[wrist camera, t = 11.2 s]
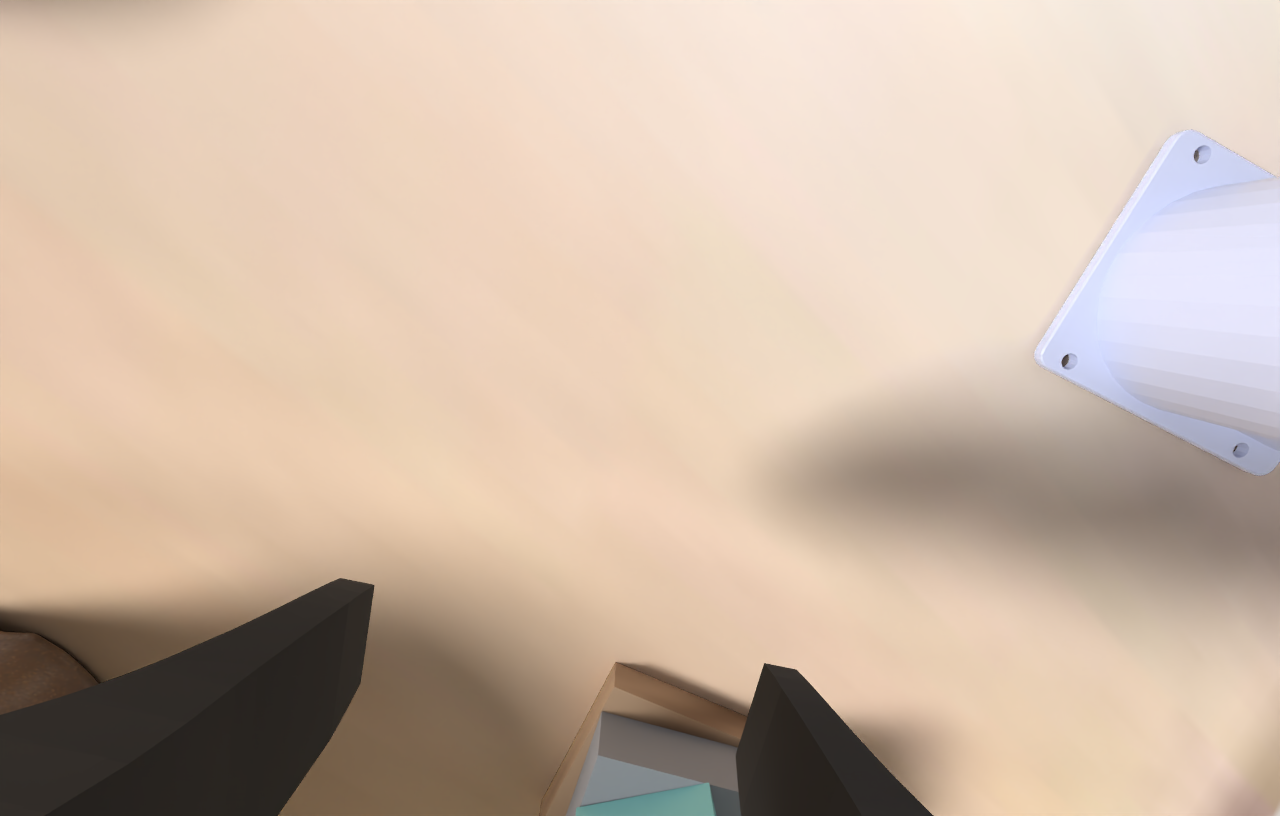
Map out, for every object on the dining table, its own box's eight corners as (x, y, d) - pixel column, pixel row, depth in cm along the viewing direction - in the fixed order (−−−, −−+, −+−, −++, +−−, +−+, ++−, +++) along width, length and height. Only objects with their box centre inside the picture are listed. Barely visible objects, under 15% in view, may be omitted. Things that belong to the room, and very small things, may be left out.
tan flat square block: (774, 718, 24) (786, 758, 22) (696, 846, 25) (700, 895, 23) (616, 651, 23) (614, 686, 21) (543, 787, 25) (535, 832, 23)
